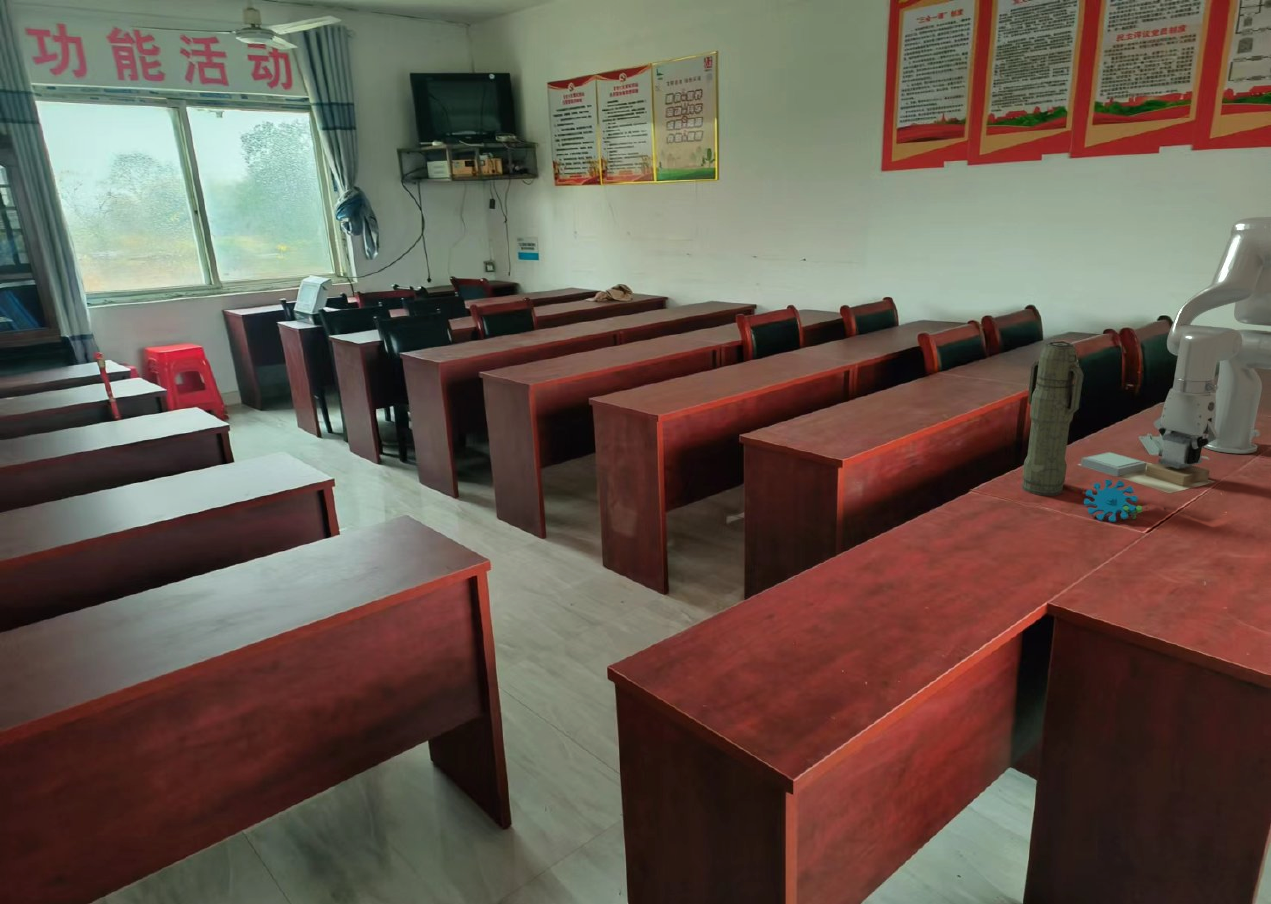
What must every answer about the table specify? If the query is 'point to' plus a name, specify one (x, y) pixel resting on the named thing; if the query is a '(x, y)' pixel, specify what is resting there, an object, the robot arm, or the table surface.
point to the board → (1157, 481)
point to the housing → (1176, 450)
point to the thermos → (1051, 417)
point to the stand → (1177, 474)
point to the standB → (1113, 464)
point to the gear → (1112, 501)
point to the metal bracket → (1155, 445)
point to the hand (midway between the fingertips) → (1180, 459)
